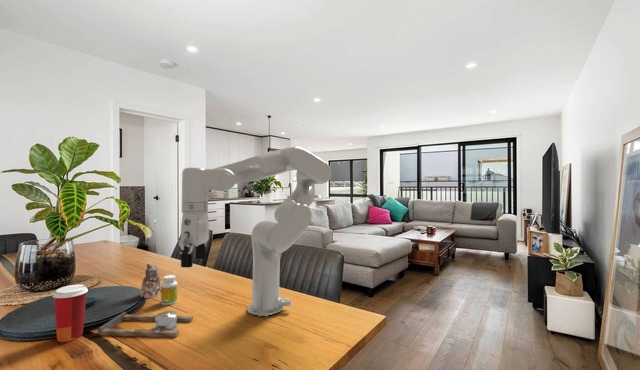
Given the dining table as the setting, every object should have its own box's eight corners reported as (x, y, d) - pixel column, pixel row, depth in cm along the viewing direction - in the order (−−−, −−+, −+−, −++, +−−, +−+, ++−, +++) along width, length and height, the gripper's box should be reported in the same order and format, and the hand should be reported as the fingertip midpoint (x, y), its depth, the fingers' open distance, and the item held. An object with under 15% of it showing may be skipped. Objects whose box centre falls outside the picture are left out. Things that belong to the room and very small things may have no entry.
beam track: (193, 319, 97) (193, 313, 97) (176, 337, 86) (176, 330, 86) (123, 318, 97) (123, 311, 97) (97, 335, 86) (98, 328, 86)
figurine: (145, 299, 112) (145, 268, 112) (137, 295, 117) (137, 264, 117) (164, 294, 118) (164, 264, 118) (156, 290, 122) (156, 261, 122)
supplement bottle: (170, 306, 107) (170, 279, 107) (157, 304, 108) (158, 278, 108) (180, 300, 112) (180, 275, 112) (167, 299, 114) (168, 273, 114)
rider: (180, 323, 94) (180, 310, 94) (170, 333, 88) (170, 318, 88) (161, 323, 94) (161, 309, 94) (150, 332, 88) (151, 318, 88)
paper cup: (85, 327, 90) (86, 282, 90) (88, 337, 85) (89, 288, 85) (50, 336, 85) (51, 288, 85) (52, 347, 79) (53, 295, 79)
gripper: (194, 210, 83) (193, 271, 83) (217, 205, 100) (216, 256, 100) (168, 209, 83) (167, 270, 83) (195, 205, 100) (194, 255, 100)
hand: (194, 262), depth 91 cm, fingers open, 9 cm apart
